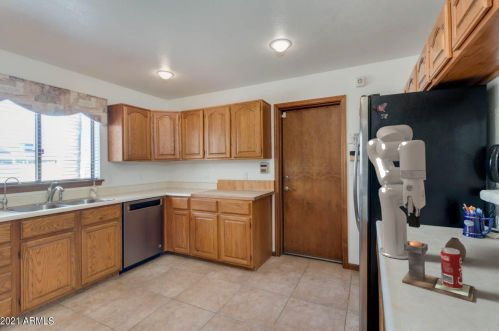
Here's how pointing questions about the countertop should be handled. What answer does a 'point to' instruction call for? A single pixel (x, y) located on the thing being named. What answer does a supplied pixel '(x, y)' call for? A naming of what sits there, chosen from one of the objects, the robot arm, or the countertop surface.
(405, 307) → the countertop surface
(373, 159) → the robot arm
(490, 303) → the countertop surface
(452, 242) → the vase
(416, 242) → the button
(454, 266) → the soda can
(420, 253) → the activity board
